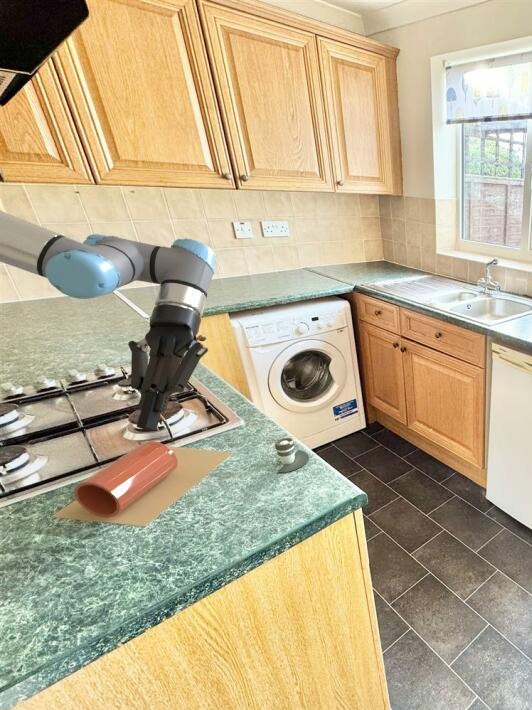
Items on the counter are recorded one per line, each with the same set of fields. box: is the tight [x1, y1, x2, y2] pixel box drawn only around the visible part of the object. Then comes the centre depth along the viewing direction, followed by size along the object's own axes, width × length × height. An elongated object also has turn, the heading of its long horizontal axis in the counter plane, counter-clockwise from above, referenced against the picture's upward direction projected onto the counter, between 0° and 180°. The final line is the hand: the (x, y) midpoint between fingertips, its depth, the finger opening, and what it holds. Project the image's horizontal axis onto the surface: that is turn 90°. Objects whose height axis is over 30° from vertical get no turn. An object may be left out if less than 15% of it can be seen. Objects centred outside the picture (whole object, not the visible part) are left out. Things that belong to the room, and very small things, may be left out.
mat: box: [50, 445, 235, 527], centre depth 77 cm, size 16×21×1 cm
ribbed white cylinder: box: [274, 437, 310, 474], centre depth 83 cm, size 12×12×5 cm
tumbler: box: [73, 440, 178, 517], centre depth 72 cm, size 7×7×12 cm
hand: (146, 428), depth 74 cm, fingers closed
